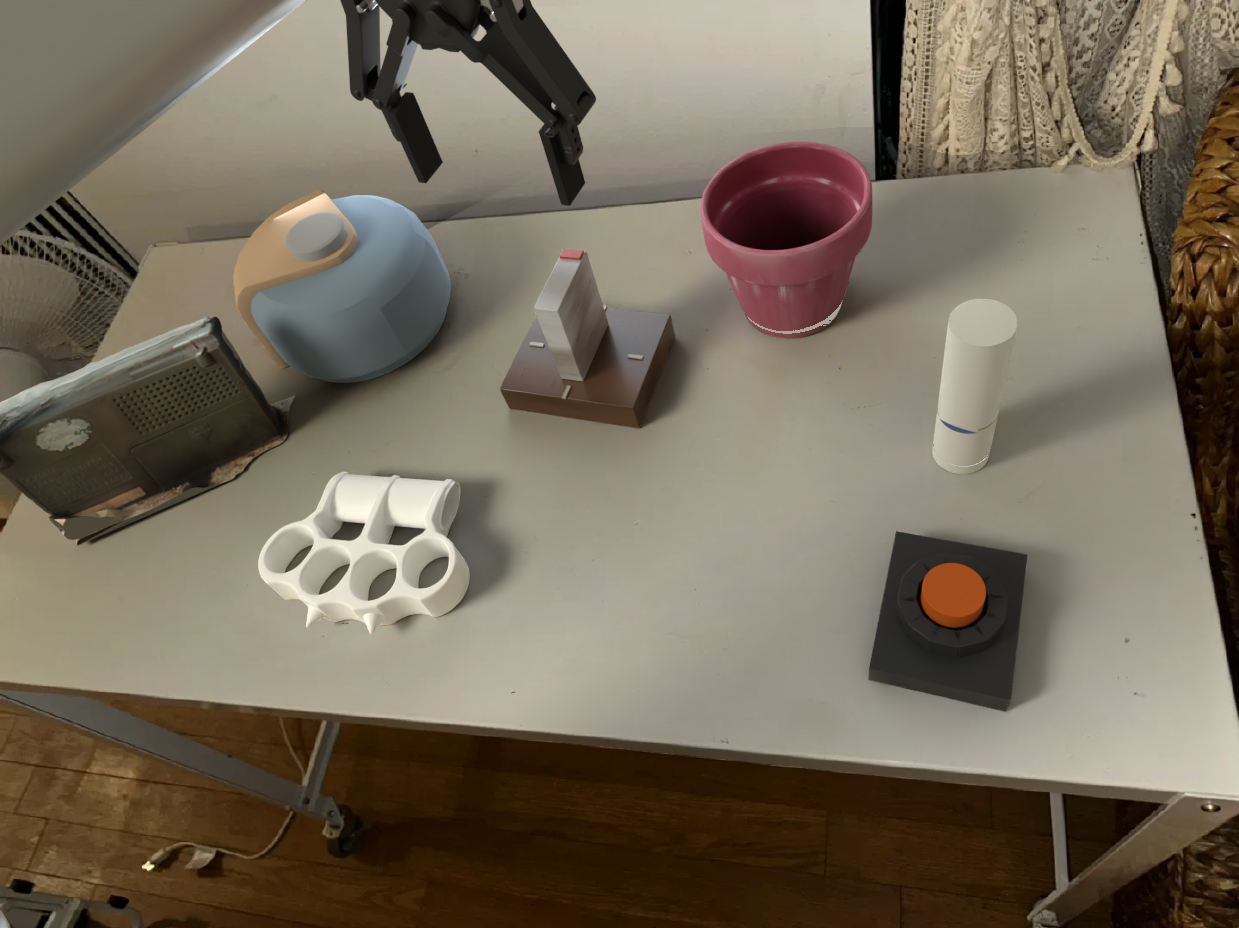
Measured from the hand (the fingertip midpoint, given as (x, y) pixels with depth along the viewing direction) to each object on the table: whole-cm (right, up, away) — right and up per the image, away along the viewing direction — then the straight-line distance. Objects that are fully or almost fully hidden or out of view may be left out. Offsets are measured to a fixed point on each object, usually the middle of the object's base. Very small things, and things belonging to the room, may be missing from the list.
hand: (499, 183), depth 73 cm
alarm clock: (-17, -7, +23) cm, 30 cm away
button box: (+33, -34, -8) cm, 48 cm away
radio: (-33, -23, +16) cm, 43 cm away
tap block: (+7, -14, +13) cm, 20 cm away
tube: (+37, -22, 0) cm, 43 cm away
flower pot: (+26, -7, +13) cm, 30 cm away
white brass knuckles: (-11, -31, +5) cm, 33 cm away
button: (+32, -32, -11) cm, 46 cm away
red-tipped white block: (+6, -12, +10) cm, 17 cm away
